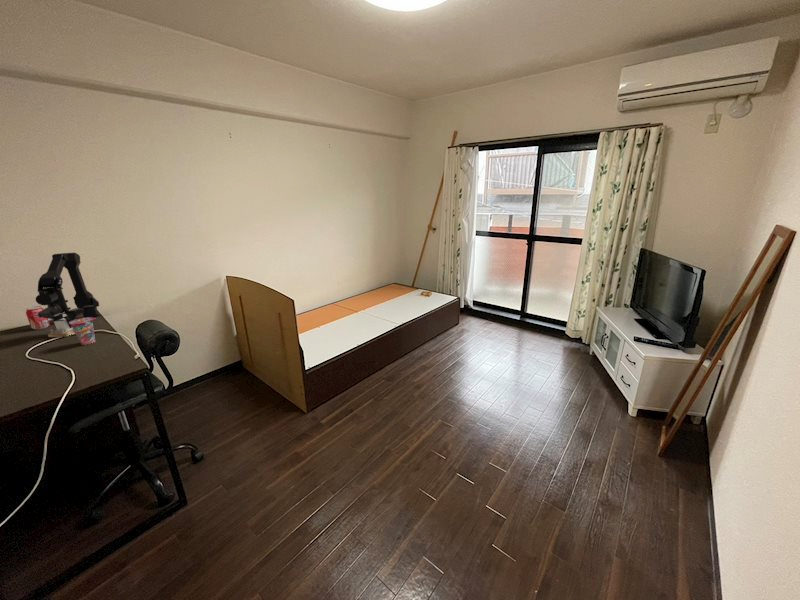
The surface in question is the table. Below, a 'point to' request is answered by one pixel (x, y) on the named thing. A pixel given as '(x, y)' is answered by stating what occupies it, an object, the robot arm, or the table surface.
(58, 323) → the block
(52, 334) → the light brown u-shaped piece
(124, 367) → the table surface
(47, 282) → the robot arm
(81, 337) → the cup
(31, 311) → the soda can
